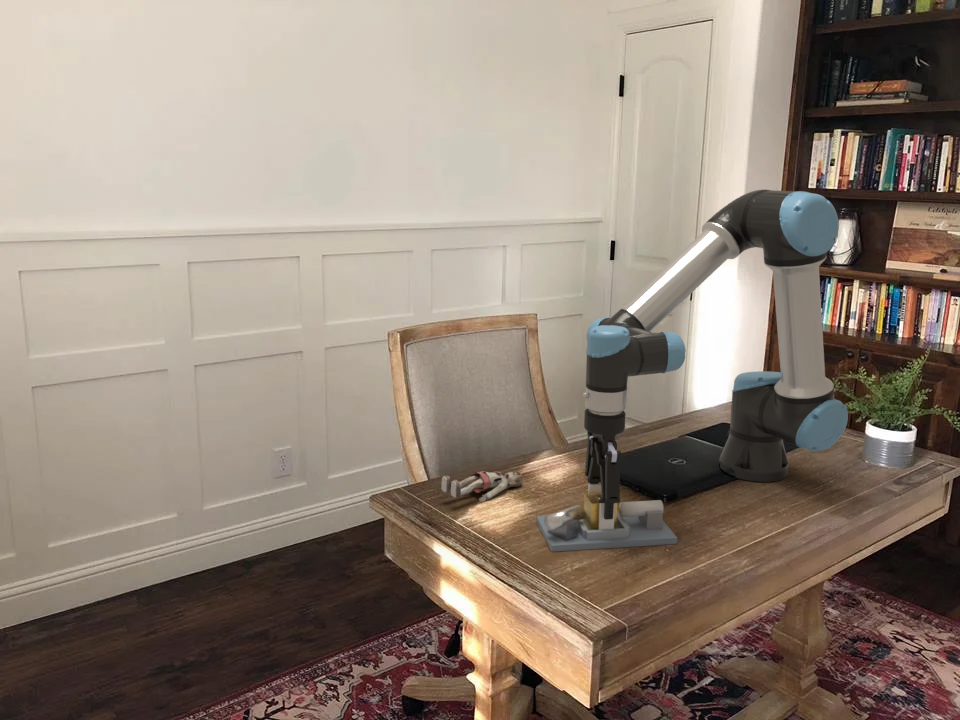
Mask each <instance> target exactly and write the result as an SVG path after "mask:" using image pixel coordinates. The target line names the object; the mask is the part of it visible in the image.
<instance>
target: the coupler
mask: <svg viewBox="0 0 960 720" xmlns="http://www.w3.org/2000/svg"><path fill="white" fill-rule="evenodd" d="M583 496H584V499H583V508H584V510H585V518H584V519H583V522H584V524H585V525H586V527H587V529H588V530H599V508H600V503H599V502H598V500H602V493H601V492H600V493H588V492H585V493H584V495H583ZM617 511H618V503H615V514H614V529H616V523H617Z"/></svg>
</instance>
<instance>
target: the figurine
mask: <svg viewBox="0 0 960 720" xmlns="http://www.w3.org/2000/svg"><path fill="white" fill-rule="evenodd" d="M521 485H523V475H522V473H521V472H520V471H519V470H513V471H509V472H505V473H504V474H503V473H502V472H500V471H496V470H493V472H492V471H491V472H488V471H474V472H473V473H471V474H470V475H469V476H468V477H466V478H464V479H462V480H461V481H459V480H457V479H454V480H452V481H451V476H450V475H447V474H445V475H443V476H442V478H441V485H440V486H441V491H442V492H444V493H450V495H451V496H452V497H453V498H460V497H461V496H462V495H464V496H466V495H470V494H471V493H473V492H475V493H477V494H479V493H481V492H482V491H483V492H486V491H487V493H485V494H482V495H481V496H480V497H479V498H478V501H479V503H484V502H486V501H487V500H490V499H491V498H493V497H494V496H496V495H497V494H499V493H500V492H502V491H503V490H507V489H509V488H517V487H518V488H519V487H520V486H521ZM491 488H493V489H492V490H490V489H491ZM488 490H490V491H488Z"/></svg>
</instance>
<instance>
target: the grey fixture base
mask: <svg viewBox="0 0 960 720" xmlns="http://www.w3.org/2000/svg"><path fill="white" fill-rule="evenodd" d="M548 515H549V514H546V515H536V520H535V521H536V524H537V525H538V527H539V530H540V532H541V533H542V535H543V537H544V540H545V542H546V544H547V546H548V548H549V549H550V552H568V551H584V550H585V551H587V550H597V549H599V550H601V549H614V548H616V549H617V548H630V547H644V546H659V545H660V546H661V545H676V544H678V536H677V535H676V534H675V533H674V532H673V531H672V529H670V527H669V526H668V525H667V524H666V523H665V521H664V520H663V519H664V516H663V515H664V504H663V501H662V500H661V499H656V500H655V499H653V500H641V501H640V500H637V501H620V502H619V503H618V510H617V523H616V529H603V530H588V529H587V527H586V525H585V524H584V522H583V519H582V520H579V521H578V537H576V538H574V539H571V540H568V541H564V540H562V539H560V538H558V537H556V536H554V535H552V534H550V533H548V529H547V528H546V526H545V524H544V518H545V517H546V516H548Z"/></svg>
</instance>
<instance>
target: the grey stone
mask: <svg viewBox="0 0 960 720" xmlns="http://www.w3.org/2000/svg"><path fill="white" fill-rule="evenodd" d="M547 515H548V516H546V517H545V518H544V524H545V526H546V528H547V529H548V533H550V534H552V535H554V536H556V537H558V538H560V539H562V540H564V541H568V540H571V539H574V538H576V537H578V521H579V520H582V519H584V518H585V510H584V506H582V505H580V504H576V505H574V506H573V505H572V506H570V507H568V508H565V509H563V510H560V511H557V512H554V513H551V514H547Z"/></svg>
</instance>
